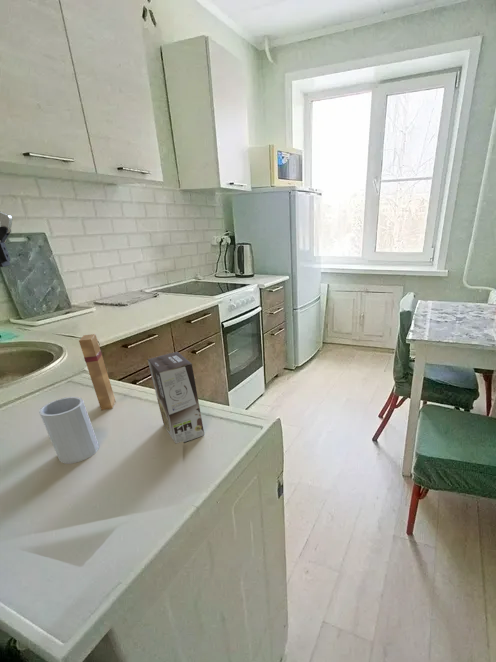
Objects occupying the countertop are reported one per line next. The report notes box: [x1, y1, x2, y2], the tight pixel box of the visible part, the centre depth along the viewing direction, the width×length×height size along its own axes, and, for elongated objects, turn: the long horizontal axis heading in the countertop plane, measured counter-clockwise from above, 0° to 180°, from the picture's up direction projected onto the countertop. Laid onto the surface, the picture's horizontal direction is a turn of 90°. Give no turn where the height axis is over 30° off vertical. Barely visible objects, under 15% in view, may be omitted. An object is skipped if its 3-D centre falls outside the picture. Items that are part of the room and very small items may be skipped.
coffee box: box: [147, 351, 205, 444], centre depth 72 cm, size 9×6×16 cm
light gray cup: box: [38, 396, 100, 465], centre depth 67 cm, size 7×7×11 cm
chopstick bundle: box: [78, 333, 117, 411], centre depth 82 cm, size 3×4×18 cm, turn 14°
